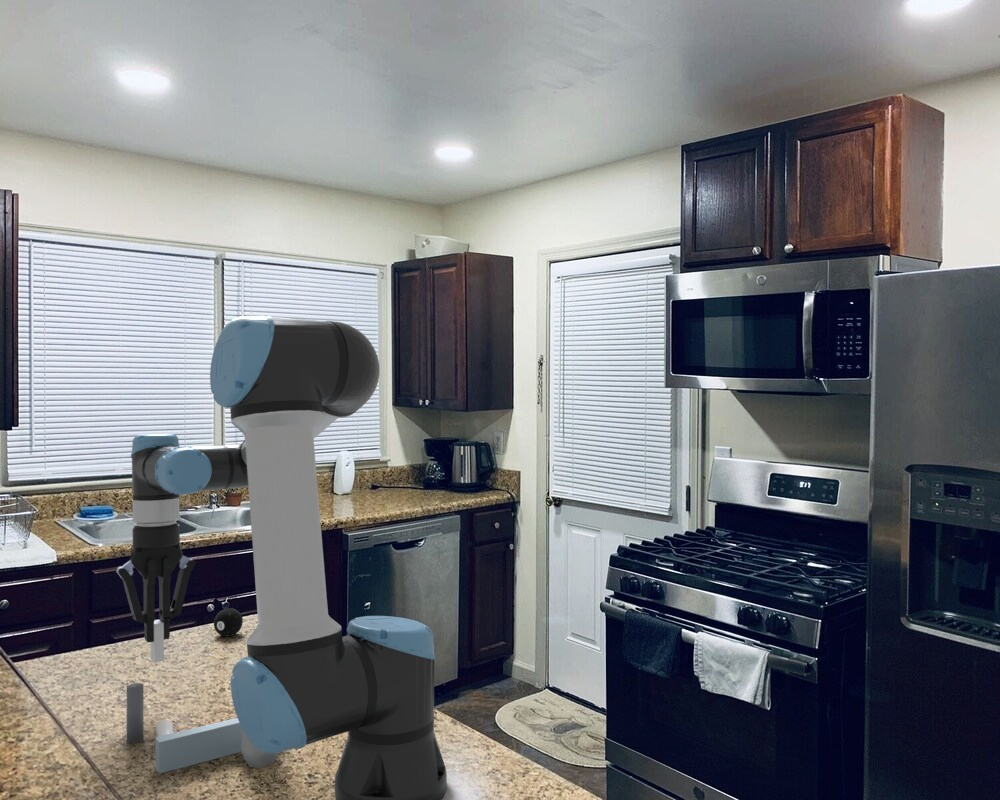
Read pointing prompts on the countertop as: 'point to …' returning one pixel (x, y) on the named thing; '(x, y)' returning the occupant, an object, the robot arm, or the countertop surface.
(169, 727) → the white pin
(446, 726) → the countertop surface
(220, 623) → the billiard ball
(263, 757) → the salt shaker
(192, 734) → the board
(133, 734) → the charcoal pin
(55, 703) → the countertop surface
